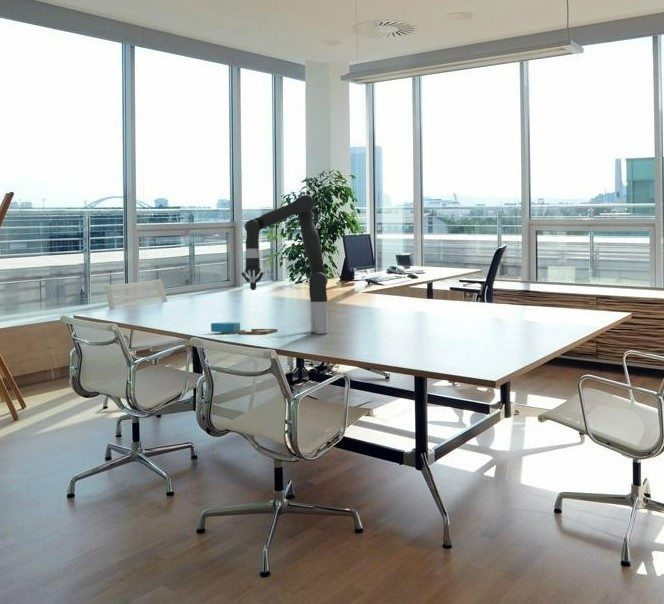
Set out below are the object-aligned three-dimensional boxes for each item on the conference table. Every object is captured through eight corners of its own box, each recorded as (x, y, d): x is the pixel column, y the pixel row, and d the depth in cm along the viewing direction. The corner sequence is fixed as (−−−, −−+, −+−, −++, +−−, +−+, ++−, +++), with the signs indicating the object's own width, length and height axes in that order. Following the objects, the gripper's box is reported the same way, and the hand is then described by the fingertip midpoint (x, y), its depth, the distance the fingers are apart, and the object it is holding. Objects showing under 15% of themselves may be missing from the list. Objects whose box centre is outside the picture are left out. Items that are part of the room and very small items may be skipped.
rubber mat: (245, 332, 401) (245, 330, 401) (235, 334, 388) (235, 332, 388) (231, 331, 403) (231, 330, 403) (221, 334, 390) (221, 332, 390)
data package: (227, 321, 403) (241, 322, 395) (227, 330, 403) (241, 331, 395) (209, 323, 394) (223, 324, 386) (209, 331, 395) (224, 332, 387)
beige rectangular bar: (275, 333, 397) (275, 330, 397) (258, 335, 392) (258, 331, 392) (273, 333, 399) (273, 329, 399) (256, 334, 394) (256, 330, 394)
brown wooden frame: (278, 331, 400) (277, 328, 400) (265, 334, 380) (265, 331, 380) (252, 331, 403) (252, 328, 403) (238, 334, 384) (238, 331, 384)
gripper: (266, 257, 393) (267, 289, 394) (243, 257, 396) (244, 290, 397) (261, 257, 386) (262, 290, 386) (238, 257, 389) (239, 290, 390)
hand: (253, 289), depth 392 cm, fingers closed
